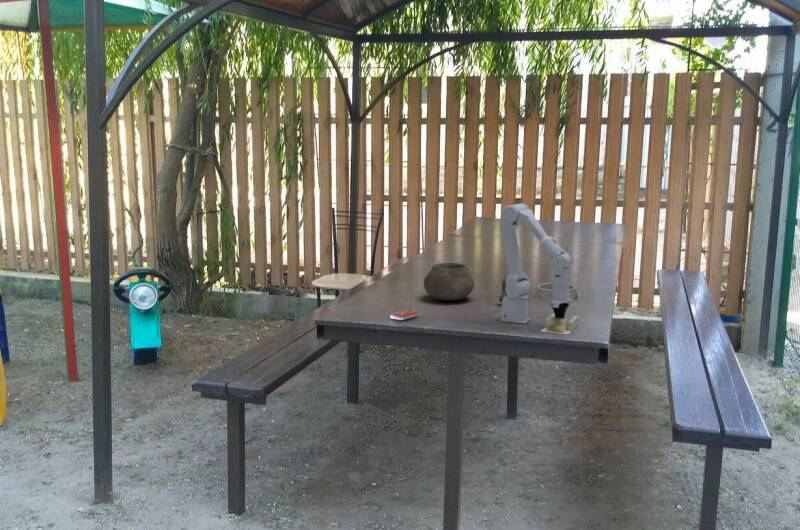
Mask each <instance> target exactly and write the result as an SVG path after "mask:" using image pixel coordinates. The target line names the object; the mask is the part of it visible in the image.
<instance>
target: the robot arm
mask: <svg viewBox="0 0 800 530" xmlns="http://www.w3.org/2000/svg"><path fill="white" fill-rule="evenodd" d="M500 214H501V220H500V224H499V229H500V235H501V239H502V240H501V241H502V246H503V251H504V256H505V261H506V267H507V273H508V275H507V276H506V277H507V278H506V277H505V279H506V288H505V291H506V294H507V296H508V297H504V298H503V300H502V307H501V319H500V321H501V322H507V323H515V324H526V323H528V322H529V321H530V320H531V319H532V318H531V317H528V315H529V314H528V313H529V311H528V310H529V294H530V293H531V292H532V289H533V288H532V287H533V286H532V283H531V281H530V279H529V277H528V274H527V273H526V272H525V271H524V269H523V264H522V258H521V254H520V247H519V243H518V237H517V232H516V231H517V230H516V229H517V228H518V227H519V225H522V226H526V227H527V229H528V230H529V231H530V232H531V233H532V234H533V236H535V238H537V240H538V241H539V248H541V250H542V252H543V253H544V254H545V255H546V256H547V258H548V259H549V260H550V262H549V263H550V267H551V268H552V274H553V275H552V283H553V296H552V302H551V309H552V310H553V313H554V314H555V317H557V318H565V315H566V312H567V309H568V307H569V306H570V303H572V302H571V301H572V299H569V284H570V270H571V269H570V267H572V265H573V261H574V260H573V257H572V255H571V254H570V253H569V252H566V251H565V249H563V248H562V247H561V245H560V244H559V243H558V242H557V241H558V240H557V238H555V237H554V236H549V235H548V234H547V233H546V232H545V230H544V229H543V227H542V225H541V224H540V222H539V221H538V220H537V219H536V216H535V214H534V212H533V210H532V209H531V208H530V207H529V206H528V205H527V204H526V203H524V202H521V203H518V204H517V203H516V204H508V205H506V206H505V207H504V208H503V210H502V211H501V213H500ZM565 302H566V303H565Z"/></svg>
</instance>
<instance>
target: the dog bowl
mask: <svg viewBox="0 0 800 530" xmlns="http://www.w3.org/2000/svg"><path fill="white" fill-rule="evenodd" d="M552 296H553V282H546V283H545V282H544V283H541V284H538V285H537V286H536V289H535V299H536V300H537V299H538V301H541V300H542V301H541V302H545V301H546V302H545V303H553V302H552ZM576 298H578V292H577V288H576V286H575V285H573V284H570V283H569V299H572V301H571V302H570V303H573V302H575V301H576ZM565 303H567V302H565Z"/></svg>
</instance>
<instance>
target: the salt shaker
mask: <svg viewBox="0 0 800 530" xmlns="http://www.w3.org/2000/svg"><path fill="white" fill-rule="evenodd" d="M506 278H507V276H505V278H504V279H503V280H502V283H501V285H502V286H501V291H502V292H501V294H500V295H499V296H498V298H499V302H500V304H498V305H500V306H499V307H501V306H502V300H503V298H504V297H508V296H507V294H506V291H505V288H506Z"/></svg>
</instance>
